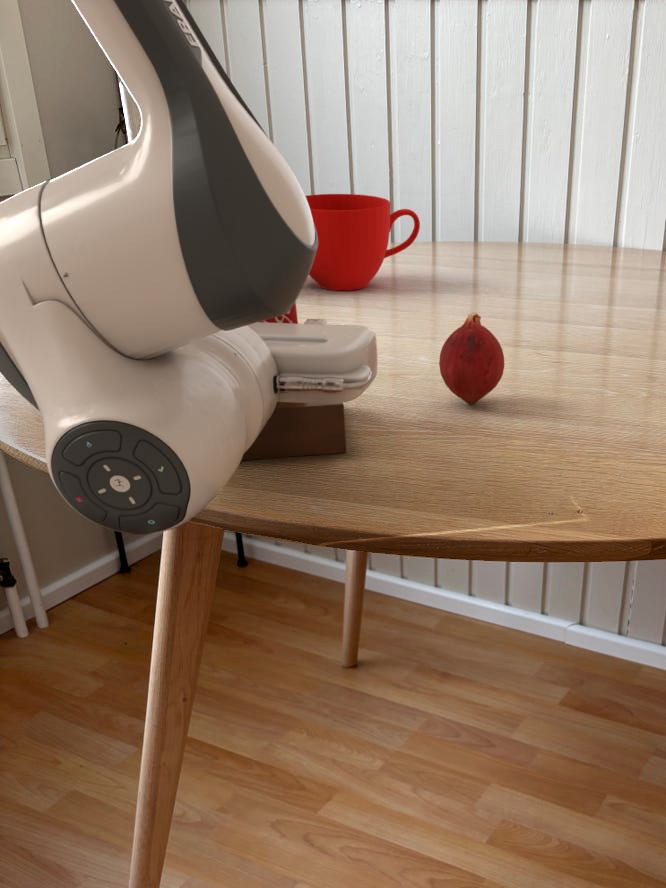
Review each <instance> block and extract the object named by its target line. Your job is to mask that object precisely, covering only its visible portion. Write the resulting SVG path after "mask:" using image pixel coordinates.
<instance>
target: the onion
mask: <svg viewBox="0 0 666 888" xmlns="http://www.w3.org/2000/svg"><path fill="white" fill-rule="evenodd" d="M481 319H482V316H480V315H479V313H477V312H471V313H469V314H468V315H467V317H466V318H465V320H464V323H463V324H462V325H461V326H459V327H458V328H457V329H455V330H454V331H453V332H452V333H451V334H450V335H449V336H448V337H447V338H446V340H445V341H444V343H443V344H442V347H441V350H440V354H439V361H438V367H439V373H440V375H441V378H442V380H443V382H444V385H445V386H446V387H447V389H448V390H449V391H450V392H451V393H452V394H454V395H455V396H456V397H458V398H459V399H461V400H462V401H464V402H465V403H466V404H468V405H475V404H477V403H479V401H480V400H482V399H483V398H484V397H486V396H487V395H488V394H489V393H491V392H492V391H493V390H494V389H495V388H496V387H497V385H498V384H499V383H500V381H501V379H502V378H503V375H504V369H505V355H504V351H503V348H502V346H501V343H500V342H499V340H498V338H497V337H496V336H495V335H494V334H493V333H492V332H491V331H490V330H489V329H488V328H487V327H485V326H484V325H482V323H481Z"/></svg>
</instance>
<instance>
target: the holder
mask: <svg viewBox="0 0 666 888" xmlns="http://www.w3.org/2000/svg"><path fill="white" fill-rule="evenodd" d="M346 435H347V434H346V419H345V405H344V403H334V404H323V403H295V402H277V404H276V407H275V409H274V411H273V413H272V415H271V417H270V418H269V420H268V421H267V423H266V424H265V426H264V427H263V429H262V430H261V432H260V433H259V435H258V437H257V438H256V440H255V441H254V443H253V444H252V445H251V447H250V448H249V449H248V450H247V451H246V452H245V453H244V454H243V457H242V459H241V461H246V460H247V461H248V460H249V461H250V460H263V459H275V458H276V459H277V458H289V457H302V456H303V457H304V456H316V455H317V456H318V455H319V456H320V455H330V454H331V455H332V454H344V453H345V454H346V453H347V452H348V451H347V436H346Z"/></svg>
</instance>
